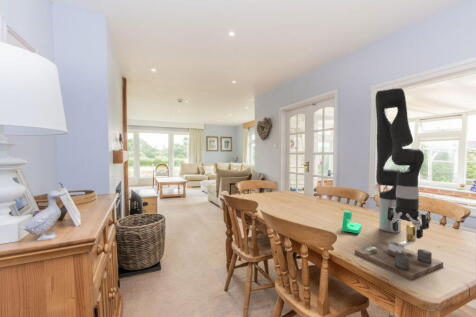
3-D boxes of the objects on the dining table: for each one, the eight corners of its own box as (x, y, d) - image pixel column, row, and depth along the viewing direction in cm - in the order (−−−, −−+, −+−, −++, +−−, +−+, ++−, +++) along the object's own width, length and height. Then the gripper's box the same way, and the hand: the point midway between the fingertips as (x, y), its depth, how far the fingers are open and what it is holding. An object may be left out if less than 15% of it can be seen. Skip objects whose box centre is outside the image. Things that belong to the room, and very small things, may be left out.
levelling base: (384, 244, 99) (384, 233, 99) (443, 266, 80) (443, 252, 80) (354, 253, 91) (354, 241, 91) (411, 280, 72) (411, 265, 72)
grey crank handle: (399, 259, 82) (399, 233, 82) (385, 253, 87) (385, 228, 86) (420, 251, 88) (420, 227, 87) (406, 246, 92) (406, 223, 92)
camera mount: (358, 235, 110) (358, 215, 110) (342, 232, 115) (342, 213, 115) (361, 228, 120) (361, 210, 120) (346, 226, 125) (346, 208, 124)
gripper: (432, 198, 85) (432, 239, 86) (394, 192, 98) (394, 228, 99) (422, 200, 82) (421, 242, 83) (383, 194, 95) (383, 230, 96)
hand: (406, 234), depth 91 cm, fingers open, 8 cm apart
